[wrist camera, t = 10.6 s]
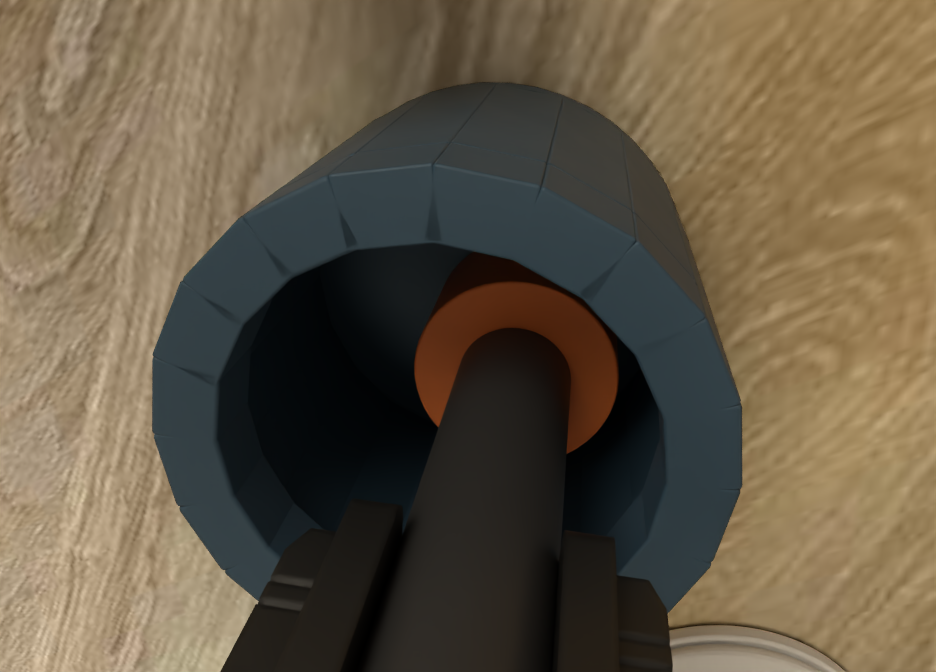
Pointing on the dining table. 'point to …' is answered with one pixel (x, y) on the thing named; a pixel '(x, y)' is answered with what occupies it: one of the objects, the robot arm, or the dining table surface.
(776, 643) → the chess piece
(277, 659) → the robot arm
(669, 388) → the jar
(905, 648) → the dining table surface
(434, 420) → the sponge stick
